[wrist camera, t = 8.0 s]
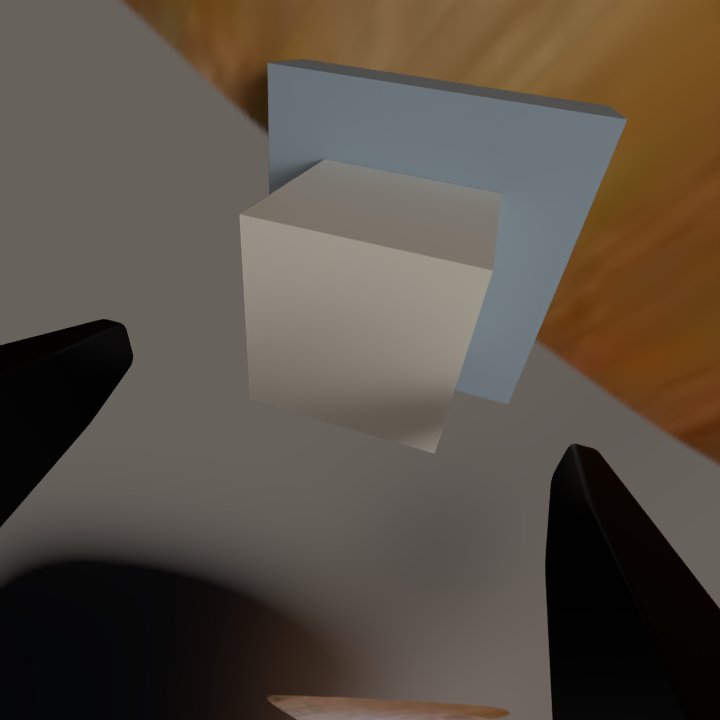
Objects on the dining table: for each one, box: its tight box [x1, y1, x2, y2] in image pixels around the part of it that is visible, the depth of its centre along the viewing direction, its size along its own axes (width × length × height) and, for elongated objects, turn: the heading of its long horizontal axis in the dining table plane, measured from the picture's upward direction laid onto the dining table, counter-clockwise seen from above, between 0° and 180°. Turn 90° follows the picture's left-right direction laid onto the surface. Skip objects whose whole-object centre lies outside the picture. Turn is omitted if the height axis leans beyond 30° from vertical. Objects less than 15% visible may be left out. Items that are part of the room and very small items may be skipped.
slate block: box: [268, 59, 627, 404], centre depth 15 cm, size 9×9×3 cm
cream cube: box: [239, 159, 502, 453], centre depth 12 cm, size 5×5×5 cm
